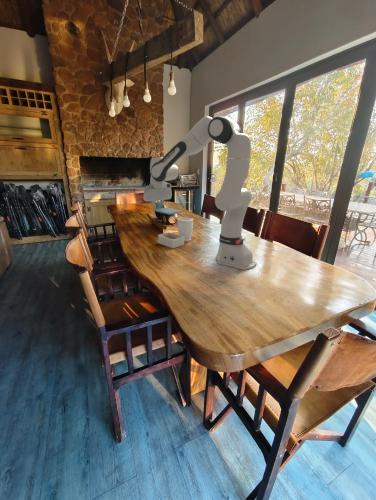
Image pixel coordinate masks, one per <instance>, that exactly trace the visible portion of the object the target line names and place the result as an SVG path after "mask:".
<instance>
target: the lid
mask: <svg viewBox="0 0 376 500" xmlns="http://www.w3.org/2000/svg"><path fill="white" fill-rule="evenodd" d="M155 204H156V205H157V208H154V207H153V212H156V213H157V212H158V213H161V214H165V215H169V216H170V215H175V214H180V213H183V210H179V209H175V208H170V207H162V203H160V201H159V202H157V201H156V203H155Z"/></svg>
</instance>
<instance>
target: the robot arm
mask: <svg viewBox="0 0 376 500" xmlns="http://www.w3.org/2000/svg"><path fill="white" fill-rule="evenodd" d="M212 140H213V141H214V142H217V143H220V144H222V145H225V146H226V147H227V156H226V166H225V174H224V178H223V181H222V185H221V187H220V189H219V191H218V192H217V193H216V195H215V196H214V197H215V198H214V204H215V207H216V208H217V209H218V210H220V211H223V212H225V213H224V216H223V217H222V220H221V226H220V234H219V238H218V239H219V240H218V241H219V244H218V249H217V254H216V256H215V260H216V261H217V264H219V265H223V266H227V267H230V268H234V269H237V270H243V271H245V270H246V271H247V270H250V269H252V268H254V267H256V266H257V261H256V260H254V259H253V258H254V257H253V252H252V251H251V250H250V249H249V247H248V246H246V244H244V243H245V242H244V241H245V240H246V238H245V237H244V238H243V236H242V230H243V223H244V219H245V215H246V213H247V210H248V207H249V205H250V204H251V201H252V199H253V196H252V192H251V191H250V190H249V189H248V188H245V187H243V186H244V184H245V181H246V180H247V178H248V176H249V171H250V170H249V169H250V163H251V152H252V144H251V141H252V140H251V138H250V136H249V135H248V134H246V133H244V132H243V133H242V128H241V125H240V124H239V123H238V122H237V121H235V120H234V119H232V118H230V117H226V116H224V115H217V116H215V117H211V116H208V115H205V116H203V117H202V118H200V120H198V121H197V122H196V123H195V124H194V125H193V127H192V128H191V129H190V130H189V131H188V132H187V134H186V135H184V137H183V138H182V139H180V140H179V141H178V142H177V143H176V144H175V145H174V146H173V147H171V149H170V150H169V151H168V152H167V153H166V154H165V155H164V156H153V157H152V158H150V162H149V163H150V164H149V170H150V171H149V173H150V181H149V182H150V184H149V185H145V186H144V187H143V194H142V195H143V196H142V197H143V198H142V199H143V201H144V202H151V203H152V205H153V209H154V208H157V205H156V204H155V203H156V202H157V201H159V203H162V208H164V206H163V205H164V203H165V200H171V199H172V196H173V193H172V192H173V191H172V184H171V183H168V182H169V181H174V180H176V179H177V178H178V177H179V175H180V170H179V169H180V168H179V166H178V165H177V164H176V163H177V162H178V161H179V160H180V159H182V158H185V157H189V156H193V155H194V156H195V155H197V154H198V153H200V152H202V151H203V150H204V149H205V148H206V147H207V145H208V144H210V142H211V141H212ZM166 181H168V182H166Z"/></svg>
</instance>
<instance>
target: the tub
mask: <svg viewBox="0 0 376 500" xmlns="http://www.w3.org/2000/svg"><path fill="white" fill-rule="evenodd" d="M164 236H171V237H172V238H177V239H170V238H167V237H164ZM157 241H158V244H160V245H163V246H165V247H168V248H171V249H175V248H178V247H183V246H184V245H185V241H184V237H183V236H180V235H178V233H173V232H170V231H169V232H165V233H160V234H158V235H157Z"/></svg>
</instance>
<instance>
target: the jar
mask: <svg viewBox="0 0 376 500" xmlns="http://www.w3.org/2000/svg"><path fill="white" fill-rule="evenodd" d="M193 222H194V218H192V217H187V216H186V217H185V216H184V217H178V218H177V235H180V236H183V237H184V242H188V241H192V235H193V230H194V223H193Z"/></svg>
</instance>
